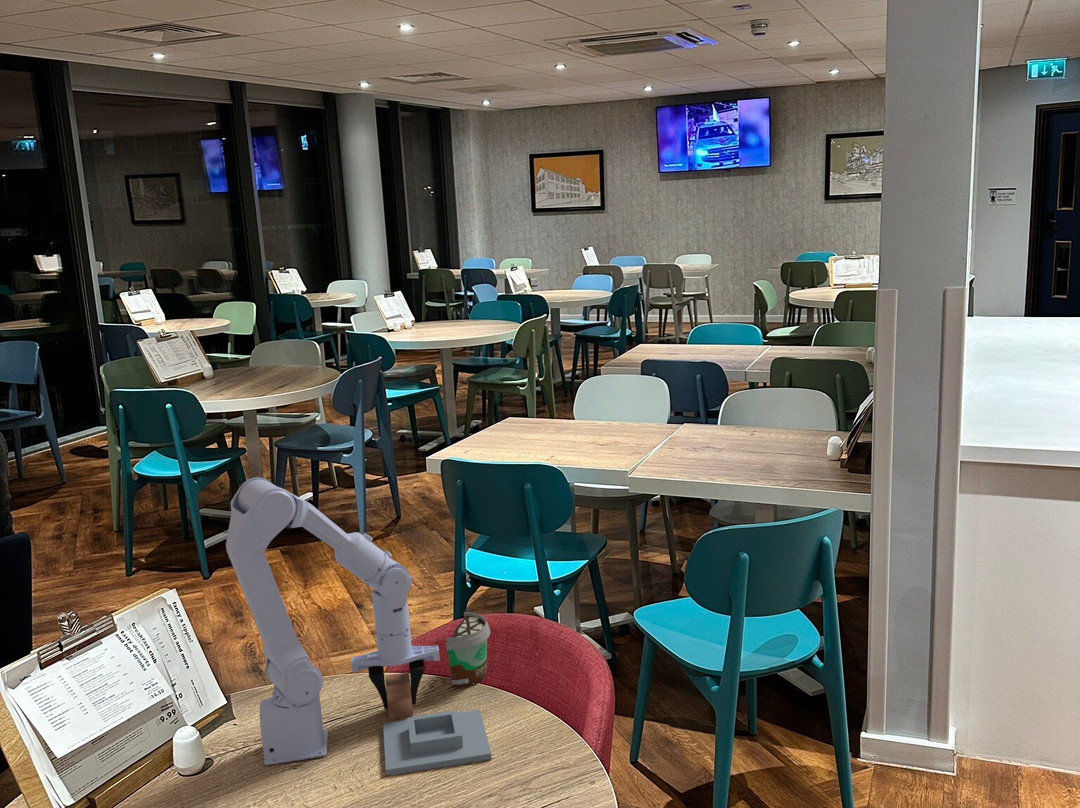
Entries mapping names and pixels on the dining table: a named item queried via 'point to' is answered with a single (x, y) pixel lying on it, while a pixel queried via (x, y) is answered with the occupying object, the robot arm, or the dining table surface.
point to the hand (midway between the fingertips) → (400, 704)
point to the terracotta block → (399, 695)
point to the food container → (468, 651)
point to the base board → (435, 741)
